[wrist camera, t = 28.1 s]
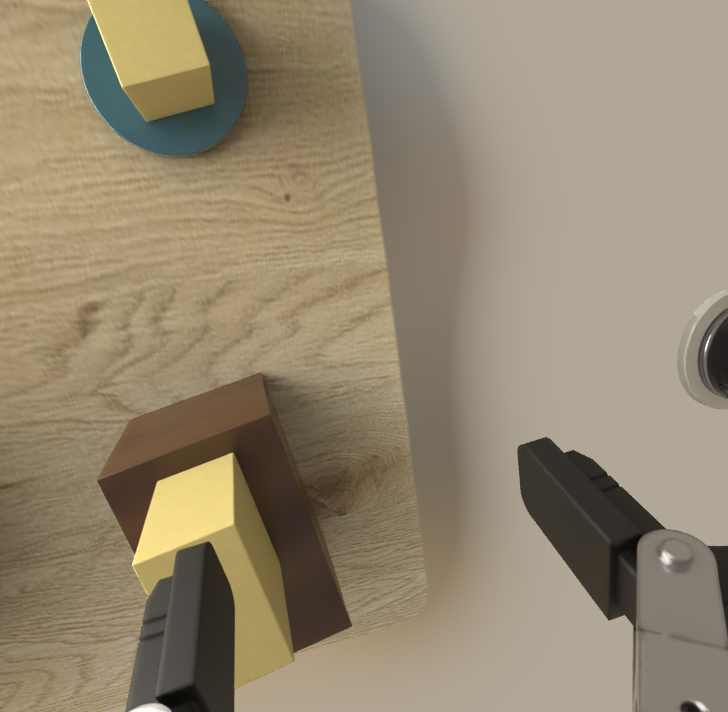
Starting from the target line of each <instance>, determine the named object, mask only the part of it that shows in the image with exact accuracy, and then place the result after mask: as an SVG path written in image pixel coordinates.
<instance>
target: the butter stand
mask: <svg viewBox="0 0 728 712" xmlns="http://www.w3.org/2000/svg"><path fill="white" fill-rule="evenodd" d="M230 453H234V454H235V456H236V459H237V461H238V464H239V466H240V468H241V471H242V473H243V476H244V478H245V480H246V483H247V485H248V488H249V490H250V492H251V495H252V497H253V499H254V502H255V504H256V507H257V509H258V511H259V514H260V516H261V519H262V521H263V523H264V526H265V528H266V531H267V533H268V535H269V538H270V540H271V543H272V545H273V547H274V550H275V552H276V555H277V557H278V559H279V562H280V567H281V574H282V580H283V587H284V593H285V600H286V607H287V613H288V620H289V626H290V633H291V639H292V646H293V652H294V653H295V652H297V651H299V650H301V649H304V648H306V647H308V646H310V645H312V644H314V643H317V642H319V641H321V640H323V639H325V638H327V637H330V636H332V635H334V634H336V633H338V632H341V631H343V630H345V629H347V628H349V627H351V626H352V624H351V621H350V618H349V615H348V611H347V608H346V605H345V602H344V599H343V595H342V592H341V589H340V586H339V583H338V580H337V576H336V573H335V570H334V567H333V564H332V560H331V557H330V554H329V551H328V548H327V545H326V542H325V539H324V536H323V534H322V531H321V529H320V526H319V523H318V521H317V518H316V516H315V513H314V510H313V508H312V505H311V502H310V500H309V497H308V495H307V492H306V489H305V487H304V484H303V481H302V479H301V476H300V474H299V471H298V468H297V466H296V463H295V460H294V458H293V455H292V453H291V450H290V447H289V445H288V442H287V440H286V437H285V434H284V432H283V429H282V426H281V424H280V421H279V419H278V416H277V413H276V411H275V408H274V405H273V403H272V400H271V398H270V395H269V392H268V390H267V387H266V385H265V382H264V379H263V377H262V374H261V373H258V374H255V375H253V376H250V377H247V378H244V379H242V380H239V381H236V382H233V383H231V384H228V385H225V386H222V387H220V388H217V389H214V390H211V391H209V392H206V393H203V394H200V395H198V396H195V397H192V398H189V399H187V400H184V401H181V402H178V403H176V404H173V405H170V406H167V407H165V408H162V409H159V410H156V411H154V412H151V413H148V414H145V415H143V416H140V417H137V418H134V419H132V420H130V421H129V423H128V425H127V427H126V428H125V430H124V432H123V434H122V436H121V437H120V439H119V441H118V443H117V445H116V446H115V448H114V450H113V452H112V454H111V455H110V457H109V459H108V461H107V463H106V465H105V466H104V468H103V470H102V472H101V474H100V475H99V477H98V479H97V481H98V483H99V485H100V487H101V489H102V491H103V493H104V495H105V497H106V499H107V501H108V503H109V505H110V507H111V509H112V511H113V513H114V515H115V516H116V518H117V520H118V522H119V524H120V526H121V528H122V530H123V532H124V534H125V536H126V538H127V540H128V542H129V544H130V546H131V548H132V550H133V552H134V554H136V550H137V547H138V544H139V540H140V537H141V534H142V530H143V527H144V524H145V520H146V517H147V514H148V510H149V507H150V504H151V500H152V497H153V494H154V491H155V487H156V484H157V482H158V481H160V480H163V479H165V478H168V477H170V476H173V475H175V474H178V473H181V472H183V471H186V470H188V469H191V468H194V467H196V466H199V465H201V464H204V463H207V462H209V461H212V460H214V459H217V458H220V457H222V456H225V455H227V454H230Z"/></svg>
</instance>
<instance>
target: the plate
mask: <svg viewBox="0 0 728 712" xmlns="http://www.w3.org/2000/svg"><path fill="white" fill-rule="evenodd" d="M188 2H189V5H190V8H191V11H192V14H193V17H194V19H195V22H196V25H197V28H198V31H199V34H200V37H201V40H202V42H203V45H204V48H205V51H206V54H207V57H208V60H209V63H210V68H211V77H212V85H213V94H214V102H215V103H214V104H212V105H208V106H205V107H201V108H197V109H194V110H190V111H186V112H182V113H179V114H175V115H171V116H168V117H164V118H160V119H157V120H153V121H149V122H147V121H146V120H145V119H144V117H143V116H142V115H141V113H140V112H139V110H138V109H137V108H136V106H135V105H134V103H133V102H132V101H131V99H130V98H129V96H128V95H127V94H126V92H125V91H124V89H123V88H122V87H121V84H120V82H119V79H118V76H117V74H116V71H115V69H114V66H113V64H112V61H111V59H110V56H109V54H108V51H107V49H106V46H105V44H104V41H103V39H102V36H101V34H100V31H99V28H98V26H97V23H96V21H95V18H94V16H93V13H92V15H91V16H90V18H89V20H88V22H87V24H86V26H85V29H84V32H83V36H82V40H81V46H80V67H81V74H82V78H83V82H84V85H85V88H86V91H87V93H88V96H89V98H90V100H91V102H92V104H93V106H94V107H95V109H96V110H97V112H98V113H99V115H100V116H101V117H102V118H103V120H104V121H105V122H106V123H107V124H108V125H109V126H110V127H111V128H112V129H113V130H114V131H115V132H116V133H117V134H118V135H119V136H121V137H122V138H123V139H125V140H126V141H127V142H129V143H130V144H132V145H134V146H135V147H137V148H139V149H141V150H144V151H146V152H148V153H152V154H155V155H158V156H164V157H174V158H182V157H190V156H195V155H199V154H201V153H204V152H206V151H209V150H210V149H212V148H214V147H216V146H217V145H218V144H220V143H221V142H222V141H224V140H225V139H226V138H227V137H228V135H229V134H230V133H231V132H232V131H233V129H234V128H235V126H236V125H237V123H238V121H239V119H240V117H241V114H242V112H243V109H244V105H245V100H246V94H247V71H246V65H245V60H244V57H243V53H242V50H241V48H240V45H239V43H238V41H237V39H236V37H235V35H234V33H233V32H232V30H231V28H230V27H229V26H228V24H227V23H226V22H225V20H224V19H223V18H222V17H221V16H220V15H219V13H218V12H217V11H216V10H214V9H213V8H212V7H211V6H210V5H209V4H208V3H206V2H205V1H203V0H188Z"/></svg>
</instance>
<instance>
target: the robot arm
mask: <svg viewBox="0 0 728 712" xmlns="http://www.w3.org/2000/svg"><path fill="white" fill-rule="evenodd" d="M698 370H699V375H700V378H701V380H702V382H703V384H704V385H705V387H706V388H707V389H708V390H709V391H710V392H712V393H713V394H715V395H717V396H720V397H723V398H726V399H728V308H727V309H725V310H724V311H722V312H721V313H720V314H719V315H718V316H717V317H716V318H715V319H714V320H713V321H712V322H711V324H710V325H709V327H708V328H707V330H706V332H705V334H704V336H703V338H702V341H701V344H700V347H699V352H698ZM517 452H518V465H519V476H520V489H521V495H522V499H523V501H524V504H525V506H526V508H527V510H528V512H529V514H530V515H531V517H532V518H533V519H534V521H535V522H536V523H537V525H538V526H539V527H540V529H541V530H542V531H543V533H544V534H545V536H546V537H547V538H548V539H549V541H550V542H551V543H552V545H553V546H554V548H555V549H556V550H557V552H558V553H559V554H560V556H561V557H562V558H563V560H564V561H565V562H566V564H567V565H568V566H569V568H570V569H571V570H572V572H573V573H574V574H575V576H576V577H577V579H578V580H579V581H580V583H581V584H582V585H583V587H584V588H585V589H586V591H587V592H588V593H589V595H590V596H591V597H592V599H593V600H594V601H595V603H596V604H597V605H598V607H599V608H600V610H601V611H602V612H603V613H604V615H605V616H606V618H607V619H608V620H612V619H615V618H617V617H620V616H623V615H625V616H626V617H627V618H628V620H629V621H630V622H631V623H632V625H633V683H632V684H633V685H632V687H633V688H632V690H633V691H632V712H728V546H706V545H705V544H704V543H703V542H702V541H700V540H699V539H697V538H695V537H694V536H692V535H689V534H687V533H684V532H681V531H677V530H668V529H665V528H664V527H663V526H662V525H661V524H660V523H659V522H658V521H657V520H656V519H655V518H654V517H653V516H652V515H651V514H650V513H649V512H647V510H645V509H644V508H643V507H642V506H641V505H640V504H639V503H638V502H637V501H636V500H635V499H634V498H633V497H632V496H631V495H629V493H628V492H627V491H625V490H624V489H623V488H622V487H620V486H619V484H618V483H617V482H616V481H615V480H614V479H613V478H612V477H611V476H608V475H607V472H606V471H604V470H603V469H602V468H601V467H600V466H599V465H598V464H597V463H596V462H595V461H594V460H593V459H591V458H589V457H586V456H585V455H582V454H580V453H578V452H576V451H574V450H572V451H569V452H566V453H563V452H562V451H561V450H560V448H559V447H557V445H555V443H554V442H553V441H552V440H551V439H549V438H547V437H545V438H542V439H538V440H535V441H532V442H529V443H526V444H523V445H520V446H519V447H518V451H517ZM139 640H140V643H139V644H138V649H137V654H136V659H135V664H134V670H133V675H132V680H131V685H130V690H129V695H128V701H127V706H126V710H125V712H234V673H235V604H234V597H233V593H232V589H231V586H230V583H229V581H228V578H227V576H226V574H225V572H224V570H223V567H222V565H221V563H220V561H219V559H218V556H217V554H216V552H215V550H214V548H213V546H212V544H211V543H210V542H209V541H207V542H204V543H201V544H197V545H194V546H191V547H188V548H185V549H181V550H178V551H177V553H176V557H175V563H174V570H173V576H170V577H166V578H163V579H160V580H159V581H158V583H157V584H156V586H155V588H154V589H153V591H152V593H151V594H150V596H149V598H148V600H147V602H146V607H145V612H144V618H143V626H142V628H141V633H140V638H139Z"/></svg>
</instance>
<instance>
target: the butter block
mask: <svg viewBox="0 0 728 712" xmlns="http://www.w3.org/2000/svg"><path fill="white" fill-rule="evenodd" d="M207 541H209V542H210V543H211V544H212V546H213V548H214V550H215V552H216V554H217V556H218V559H219V561H220V563H221V565H222V567H223V570H224V572H225V574H226V576H227V578H228V581H229V583H230V586H231V589H232V593H233V597H234V604H235V673H234V689H235V688H237V687H240V686H242V685H244V684H246V683H248V682H251V681H253V680H255V679H257V678H259V677H261V676H263V675H266V674H268V673H270V672H272V671H274V670H277V669H279V668H281V667H283V666H285V665H287V664H290V663H292V662H294V652H293V646H292V639H291V633H290V626H289V620H288V613H287V607H286V600H285V593H284V587H283V580H282V574H281V567H280V562H279V559H278V557H277V555H276V552H275V550H274V547H273V545H272V543H271V540H270V538H269V535H268V533H267V531H266V528H265V526H264V523H263V521H262V519H261V516H260V514H259V511H258V509H257V507H256V504H255V502H254V499H253V497H252V495H251V492H250V490H249V488H248V485H247V483H246V480H245V478H244V476H243V473H242V471H241V468H240V466H239V464H238V461H237V459H236V456H235V454H234V453H230V454H227V455H225V456H222V457H220V458H217V459H214V460H212V461H209V462H207V463H204V464H201V465H199V466H196V467H194V468H191V469H188V470H186V471H183V472H181V473H178V474H175V475H173V476H170V477H168V478H165V479H163V480H160V481H158V482H157V484H156V487H155V491H154V494H153V497H152V500H151V504H150V507H149V510H148V514H147V517H146V520H145V524H144V527H143V530H142V534H141V537H140V540H139V544H138V547H137V550H136V554H135V557H134V560H133V563H132V567H133V569H134V570H135V572H136V574H137V576H138V578H139V580H140V582H141V584H142V586H143V588H144V590H145V592H146V594H147V596H148V597H149V596H150V594H151V593H152V591H153V589H154V588H155V586H156V584H157V583H158V581H159V580H160V579H163V578H166V577H170V576H173V570H174V563H175V557H176V553H177V551H178V550H181V549H185V548H188V547H191V546H194V545H197V544H201V543H204V542H207Z"/></svg>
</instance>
